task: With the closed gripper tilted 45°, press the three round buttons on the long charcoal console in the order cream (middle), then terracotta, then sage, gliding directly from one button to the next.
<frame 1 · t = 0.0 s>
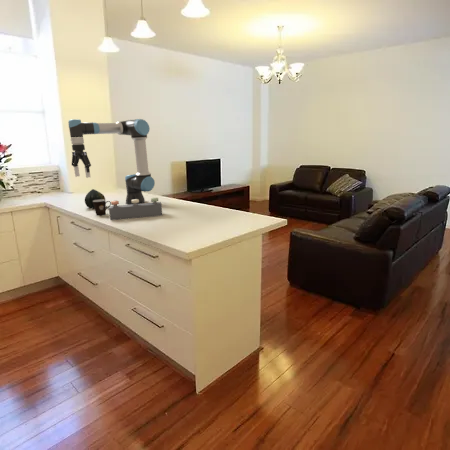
hand: (82, 176, 226), 28 cm above the table, tool pointing down, fingers open, 13 cm apart
button sage: (154, 201, 232), point 9 cm above the table, slide at 0.0 cm
button cream: (135, 203, 229), point 9 cm above the table, slide at 0.0 cm
coffee mug: (103, 214, 242), on the table
console: (136, 216, 231), on the table
button terracotta: (115, 204, 226), point 9 cm above the table, slide at 0.0 cm
squash: (95, 207, 266), on the table
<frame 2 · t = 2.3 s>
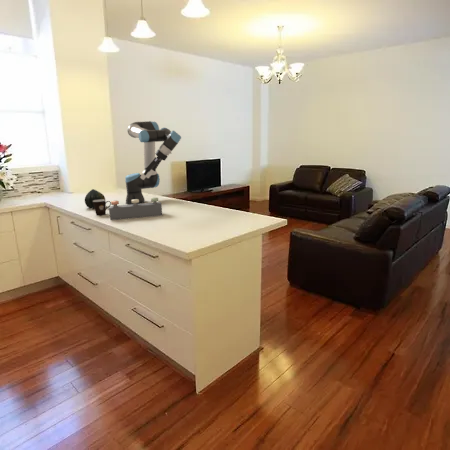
hand: (144, 178, 226), 26 cm above the table, tool tilted 40°, fingers open, 13 cm apart
nothing on the table moved.
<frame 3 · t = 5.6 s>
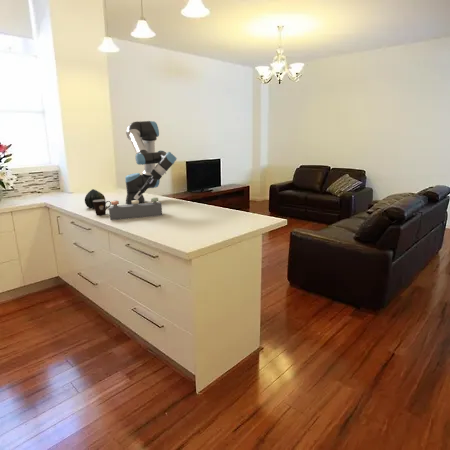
hand: (135, 198, 228), 12 cm above the table, tool tilted 45°, fingers closed
button cream: (135, 204, 229), point 9 cm above the table, slide at 0.6 cm, touching gripper
everything else where it was.
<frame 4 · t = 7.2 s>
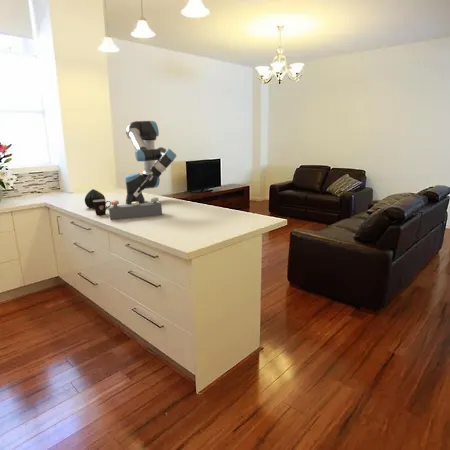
hand: (134, 195, 228), 14 cm above the table, tool tilted 45°, fingers closed
button cream: (135, 205, 229), point 8 cm above the table, slide at 1.7 cm
everything else where it was.
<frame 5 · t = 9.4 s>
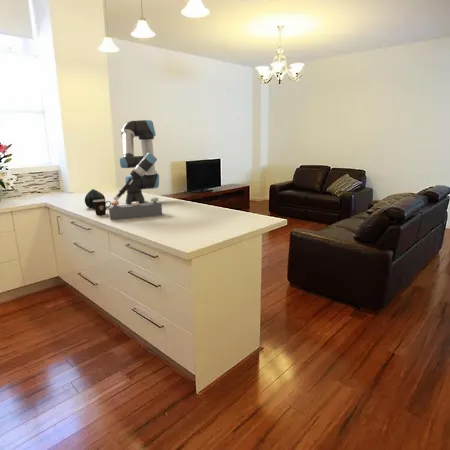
hand: (115, 200, 225), 13 cm above the table, tool tilted 45°, fingers closed
button terracotta: (115, 205, 226), point 9 cm above the table, slide at 0.3 cm, touching gripper
everything else where it was.
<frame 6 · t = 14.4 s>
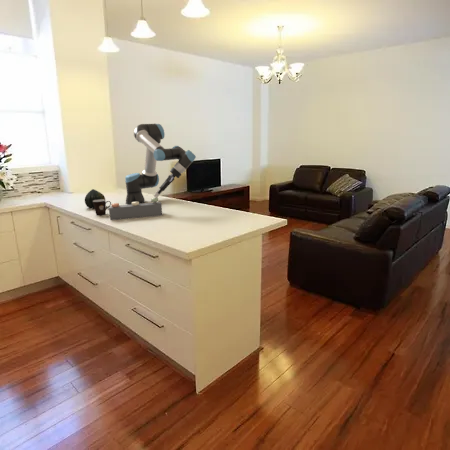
hand: (155, 196, 231), 13 cm above the table, tool tilted 45°, fingers closed
button sage: (154, 201, 232), point 9 cm above the table, slide at 0.2 cm, touching gripper
button terracotta: (115, 207, 227), point 8 cm above the table, slide at 1.7 cm
everything else where it was.
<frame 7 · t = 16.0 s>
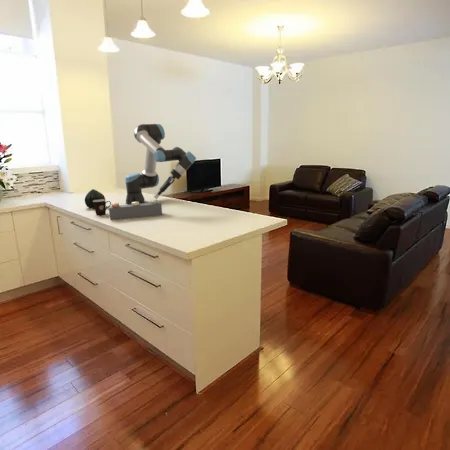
hand: (155, 197, 231), 12 cm above the table, tool tilted 45°, fingers closed
button sage: (155, 203, 232), point 8 cm above the table, slide at 1.7 cm
everything else where it was.
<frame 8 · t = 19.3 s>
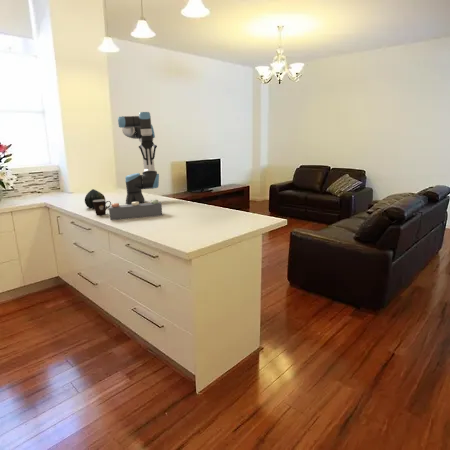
hand: (150, 169, 242), 29 cm above the table, tool pointing down, fingers closed
nothing on the table moved.
at the end: button cream slide at 1.7 cm; button terracotta slide at 1.7 cm; button sage slide at 1.7 cm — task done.
